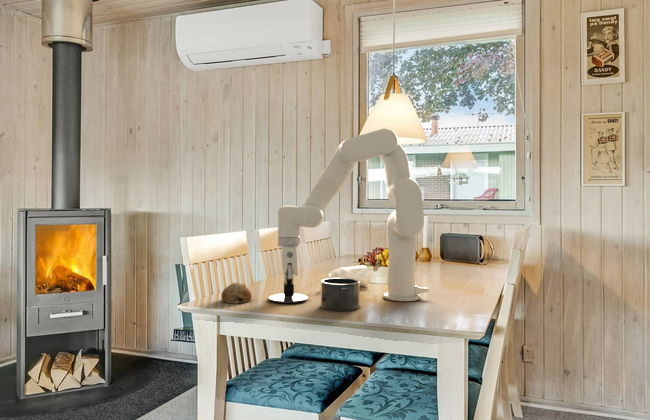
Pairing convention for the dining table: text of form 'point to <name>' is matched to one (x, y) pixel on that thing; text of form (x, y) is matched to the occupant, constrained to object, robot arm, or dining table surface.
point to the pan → (340, 294)
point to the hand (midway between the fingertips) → (288, 294)
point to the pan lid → (288, 298)
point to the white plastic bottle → (352, 274)
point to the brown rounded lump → (236, 293)
